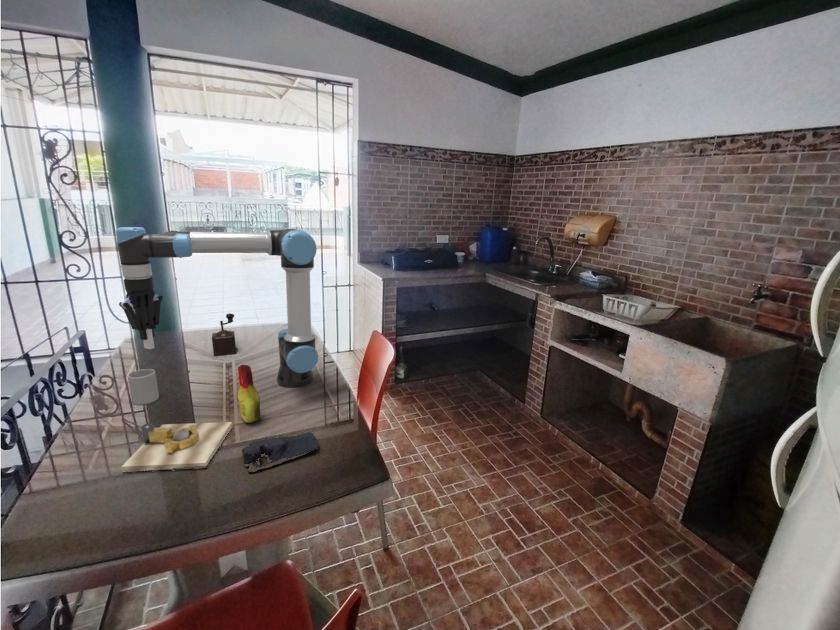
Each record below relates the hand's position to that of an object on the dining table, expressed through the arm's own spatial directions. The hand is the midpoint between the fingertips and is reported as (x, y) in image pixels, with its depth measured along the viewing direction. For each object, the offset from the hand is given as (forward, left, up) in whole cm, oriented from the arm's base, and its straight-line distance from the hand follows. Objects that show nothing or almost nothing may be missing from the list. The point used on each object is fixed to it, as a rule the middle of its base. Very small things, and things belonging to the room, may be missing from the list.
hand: (149, 347), depth 129 cm
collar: (-11, +18, -24) cm, 32 cm away
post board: (-15, +18, -26) cm, 35 cm away
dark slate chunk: (-45, +22, -27) cm, 57 cm away
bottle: (-30, +1, -27) cm, 40 cm away
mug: (+13, -17, -27) cm, 34 cm away
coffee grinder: (+2, -69, -27) cm, 74 cm away
